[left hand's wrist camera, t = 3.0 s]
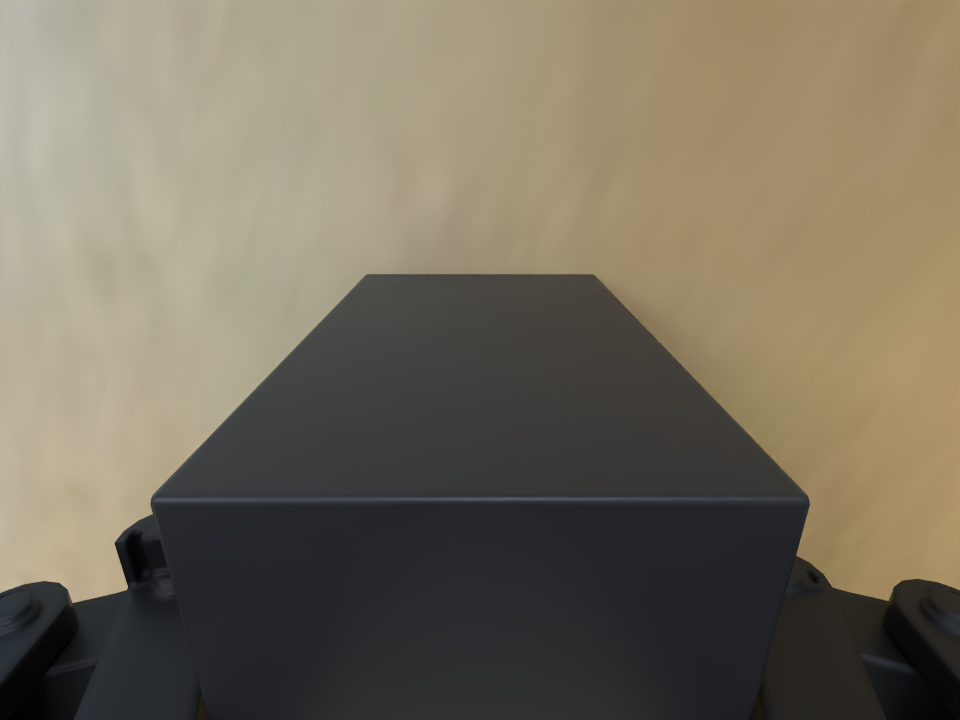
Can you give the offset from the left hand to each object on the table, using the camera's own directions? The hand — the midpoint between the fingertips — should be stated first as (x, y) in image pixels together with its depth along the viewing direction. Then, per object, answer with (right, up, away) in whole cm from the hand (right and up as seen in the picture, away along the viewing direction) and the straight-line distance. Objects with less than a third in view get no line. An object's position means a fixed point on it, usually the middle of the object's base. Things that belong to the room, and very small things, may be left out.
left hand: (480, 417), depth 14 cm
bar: (0, -10, +4) cm, 11 cm away
